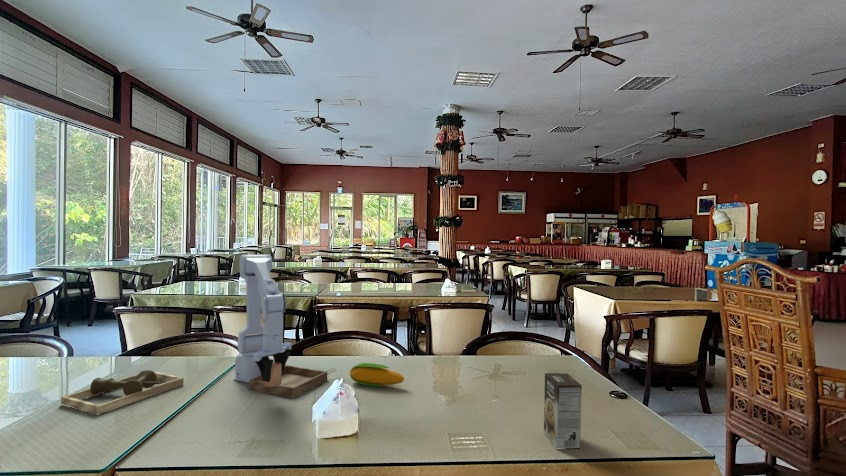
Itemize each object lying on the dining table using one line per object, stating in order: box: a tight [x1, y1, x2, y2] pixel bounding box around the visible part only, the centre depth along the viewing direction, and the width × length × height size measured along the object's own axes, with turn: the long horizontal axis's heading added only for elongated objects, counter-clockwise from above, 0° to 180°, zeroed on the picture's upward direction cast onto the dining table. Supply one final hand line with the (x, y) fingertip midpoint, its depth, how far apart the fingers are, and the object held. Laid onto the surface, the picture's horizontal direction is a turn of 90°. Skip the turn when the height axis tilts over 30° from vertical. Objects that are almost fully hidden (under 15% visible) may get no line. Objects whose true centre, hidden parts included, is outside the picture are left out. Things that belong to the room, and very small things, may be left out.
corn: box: [349, 362, 405, 388], centre depth 151 cm, size 7×8×20 cm
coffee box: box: [543, 372, 583, 449], centre depth 113 cm, size 9×6×16 cm
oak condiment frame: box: [60, 370, 185, 415], centre depth 139 cm, size 17×27×2 cm, turn 157°
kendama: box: [89, 369, 162, 396], centre depth 139 cm, size 6×10×20 cm
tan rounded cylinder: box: [264, 361, 282, 387], centre depth 134 cm, size 5×5×6 cm
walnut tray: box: [249, 364, 328, 399], centre depth 150 cm, size 18×18×3 cm
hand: (272, 378), depth 134 cm, fingers closed on tan rounded cylinder, 5 cm apart
